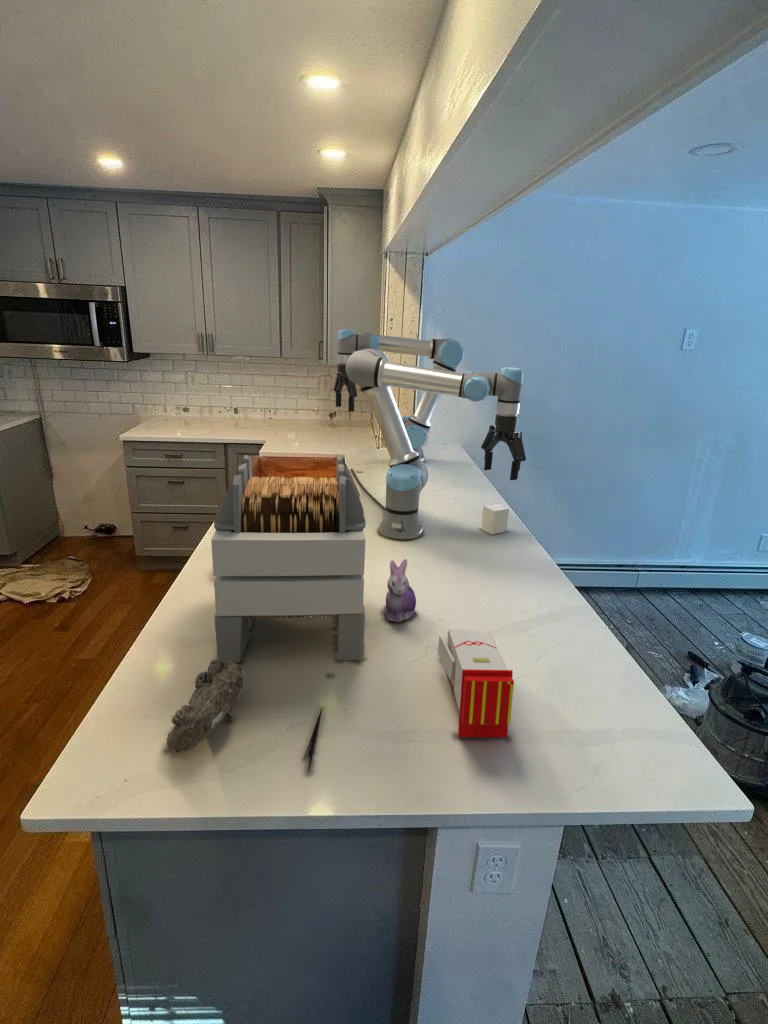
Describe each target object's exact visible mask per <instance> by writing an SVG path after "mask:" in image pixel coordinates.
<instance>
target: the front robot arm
mask: <svg viewBox="0 0 768 1024" xmlns="http://www.w3.org/2000/svg"><path fill="white" fill-rule="evenodd" d="M346 373H347V376H348V378H349V379H350V380H351V381H352V382H353V383H355V385H357V386H359V389H360V392H361V393H362V394H363V395H366V396H367V398H368V401H369V404H370V407H371V409H372V412H373V414H374V417H375V419H376V422H377V425H378V428H379V431H380V433H381V436H383V438H384V439H383V438H382V439H383V442H384V441H385V443H384V444H385V447H386V449H387V452H388V454H389V457H390V460H389V462H388V466H389V468H388V470H387V471H386V476H385V483H386V484H385V504H384V505H385V507H384V505H382V504H381V503H380V502H379V501H378V500H377V499H376V498H375V497H374V496H373V495H372V494H371V493H369V491H368V490H367V489H366V488H365V487H364V485H363V484H362V483H361V482H360V480H359V479H358V477H357V475H356V473H355V471H354V469H353V468H350V471H351V473H352V475H353V477H354V478H355V481H356V482H357V483H358V485H359V486H360V488H361V489H362V490H363V491H364V492H365V494H366V495H368V496H369V497H370V498H371V500H372V501H374V502H375V503H376V505H378V506H379V507H380V508H381V509H382V510H383V512H384V513H383V515H382V519H381V522H379V525H378V533H379V534H380V535H381V536H382V537H385V538H387V539H389V540H395V541H410V540H415V539H418V538H420V537H421V536H422V535H423V525H422V524H421V518H420V515H419V507H420V506H419V505H420V496H421V495H420V494H421V492H422V491H423V488H425V486H426V484H427V483H428V480H429V470H428V467H427V465H426V464H425V463H424V462H422V461H421V459H420V456H419V453H418V452H416V451H414V450H413V449H412V446H411V443H410V441H409V438H408V435H407V432H406V430H405V427H404V424H403V421H402V416H401V413H400V410H399V407H398V404H397V402H396V399H395V396H394V394H393V392H392V389H391V387H394V388H400V389H405V390H412V391H419V392H431V393H437V394H442V395H444V396H449V397H457V398H461V399H468V400H469V401H471V402H481V401H483V400H484V399H486V398H487V397H488V396H489V397H493V396H494V397H497V402H496V409H495V413H496V414H495V418H494V419H495V420H494V424H490V425H489V428H488V431H487V434H486V436H485V438H484V440H483V441H482V444H481V447H480V448H481V449H482V450H483V451H484V458H483V460H484V465H483V466H484V468H483V470H484V471H491V470H492V465H493V455H494V451H493V449H494V448H495V447H496V446H497V445H498V444H499V443H500V442H503V443H505V444H506V445H507V446H508V449H509V452H510V454H511V457H512V459H513V461H511V466H510V467H511V469H510V476H509V480H510V481H516V480H518V476H519V471H520V469H521V462H526V460H527V458H526V457H527V456H526V452H525V447H524V442H523V433H522V431H516V428H517V426H518V423H519V416H518V415H519V414H520V405H521V398H522V390H523V383H524V371H523V369H522V368H519V367H511V366H510V367H509V366H508V367H505V366H504V367H502V368H501V369H500V371H499V372H485V371H476V370H473V371H466V372H464V373H463V372H456V371H455V372H450V371H444V370H437V369H434V368H430V367H424V366H417V365H411V364H410V365H409V364H405V363H398V362H391V361H389V358H388V357H387V355H386V354H385V353H384V351H380V350H378V349H374V348H368V349H364V350H360V351H354V353H353V354H352V355H351V356H350V357H349V358H348V360H347V362H346Z"/></svg>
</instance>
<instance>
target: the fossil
mask: <svg viewBox="0 0 768 1024" xmlns="http://www.w3.org/2000/svg"><path fill="white" fill-rule="evenodd" d="M217 660H218V659H217ZM217 660H216V659H212V660H211V661H210V663H209V665H208V666H207V671H201V672H199V673H198V674H197V675H196V676H195V680H194V684H195V685H194V687H195V689H194V690H193V693H192V694H191V697H190V698H189V700H188V704H184V705H182V706H181V707H180V709H177V710H176V711H175V713H174V715H173V716H172V718H171V723H172V724H173V727H172V730H171V731H170V732H168V734H167V738H166V741H167V742H166V745H167V749H168V750H169V751H173V752H174V753H176V754H178V753H182V752H188V751H189V752H192V751H193V750H195V748H196V747H197V746H199V744H200V743H201V742H203V741H204V740H205V739H206V738H207V737H208V736H209V735H210V734H211V733H212V732H214V730H215V729H217V727H218V726H219V724H220V722H221V721H222V720H223V719H224V718H225V716H226V717H227V719H229V720H233V717H232V715H230V714H229V710H230V709H231V708H234V706H235V704H236V703H237V702H238V699H239V697H240V695H241V693H242V691H243V690H245V689H244V688H245V675H244V671H243V670H244V669H243V667H242V665H240V664H237V662H235V661H234V660H232V659H231V660H228V659H227V660H224V661H223V662H222V661H217Z"/></svg>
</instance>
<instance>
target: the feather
mask: <svg viewBox="0 0 768 1024" xmlns="http://www.w3.org/2000/svg"><path fill="white" fill-rule="evenodd" d="M329 675H330V676H331V675H332V674H331V673H330V674H329ZM322 710H323V707H321V708H320V710H319V713H318V716H317V719H316V723H315V725H314V728H313V731H312V733H311V737H310V739H309V742H308V745H307V748H306V751H305V754H304V757H303V760H302V763H301V767H302V765H303V763H304V761H305V758H308V759H309V760H308V762H307V763H308V764H307V766H308V771H310V770H311V766H312V765H311V764H312V760H313V757H315V756H314V755H315V751H316V749H315V746H317V739H318V733H319V729H320V722H321V717H322V712H323V711H322ZM313 754H314V755H313ZM306 755H307V757H306Z"/></svg>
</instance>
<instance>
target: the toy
mask: <svg viewBox="0 0 768 1024" xmlns="http://www.w3.org/2000/svg"><path fill="white" fill-rule="evenodd" d="M446 640H447V643H446V641H445V639H444V636H443V635H442V634H439V637H438V646H437V656H438V657H439V659H440V661H441V663H442V666H443V668H444V670H445V672H446V674H447V677H448V679H449V681H450V684H451V687H452V690H453V693H454V697H455V701H456V705H457V708H458V711H459V714H458V715H459V716H458V730H457V731H458V732H457V737H458V738H508V731H509V726H510V725H511V717H512V707H513V697H514V696H513V695H514V684H515V680H514V679H513V673H514V671H513V670H512V669H508V667H507V665H506V662H505V661H504V659H503V658H502V655H501V653H500V651H499V649H498V647H497V643H496V639H495V637H494V635H493V634H491V632H490V631H489V629H467V628H466V629H465V628H463V629H461V628H460V629H459V628H448V630H447V639H446Z"/></svg>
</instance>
